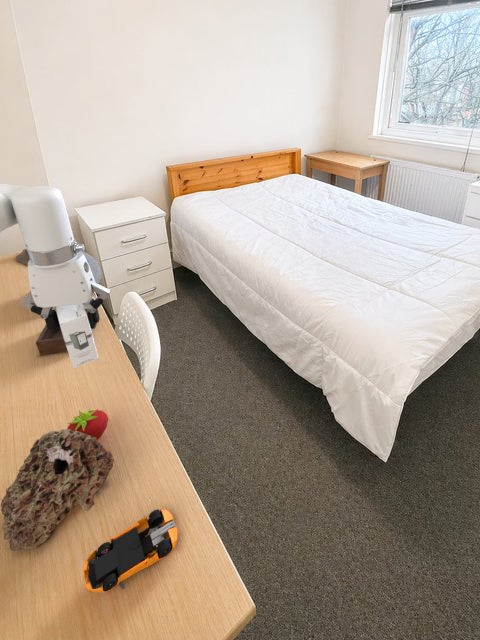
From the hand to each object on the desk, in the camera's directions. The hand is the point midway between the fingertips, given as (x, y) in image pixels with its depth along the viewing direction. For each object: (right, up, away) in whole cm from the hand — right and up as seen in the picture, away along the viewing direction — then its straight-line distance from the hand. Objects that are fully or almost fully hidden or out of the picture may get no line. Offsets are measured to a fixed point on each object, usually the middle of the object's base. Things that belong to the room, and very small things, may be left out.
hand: (75, 326), depth 74 cm
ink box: (0, -7, +3) cm, 7 cm away
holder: (-21, -10, +29) cm, 37 cm away
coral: (-1, -19, -14) cm, 23 cm away
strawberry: (+4, -25, -1) cm, 25 cm away
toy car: (+21, -29, -19) cm, 41 cm away
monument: (-59, +11, +71) cm, 93 cm away
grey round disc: (-32, +6, +47) cm, 57 cm away
